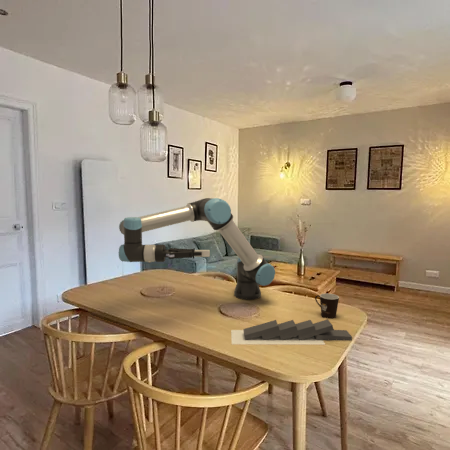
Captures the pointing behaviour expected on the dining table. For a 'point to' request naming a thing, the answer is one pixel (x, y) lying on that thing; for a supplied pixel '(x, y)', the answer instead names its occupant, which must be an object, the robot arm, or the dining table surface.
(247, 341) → the mat
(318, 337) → the domino
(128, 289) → the dining table surface
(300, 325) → the domino
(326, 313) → the coffee mug
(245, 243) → the robot arm
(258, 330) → the domino
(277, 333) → the domino
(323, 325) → the domino
